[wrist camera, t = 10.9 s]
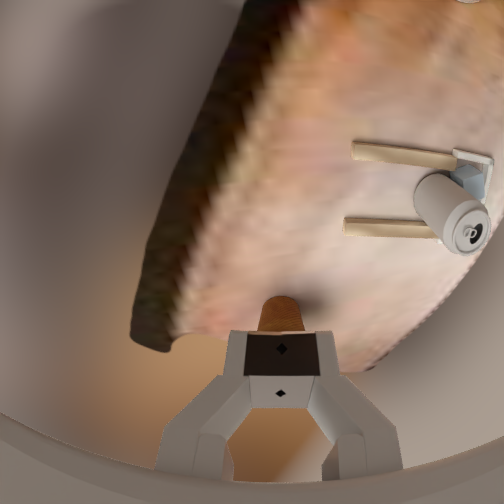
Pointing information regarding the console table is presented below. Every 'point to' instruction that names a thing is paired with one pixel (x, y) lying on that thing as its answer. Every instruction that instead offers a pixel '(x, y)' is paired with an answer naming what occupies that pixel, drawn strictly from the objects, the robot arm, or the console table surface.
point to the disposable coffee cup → (280, 316)
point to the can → (452, 214)
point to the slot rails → (400, 157)
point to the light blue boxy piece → (469, 180)
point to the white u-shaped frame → (486, 170)
